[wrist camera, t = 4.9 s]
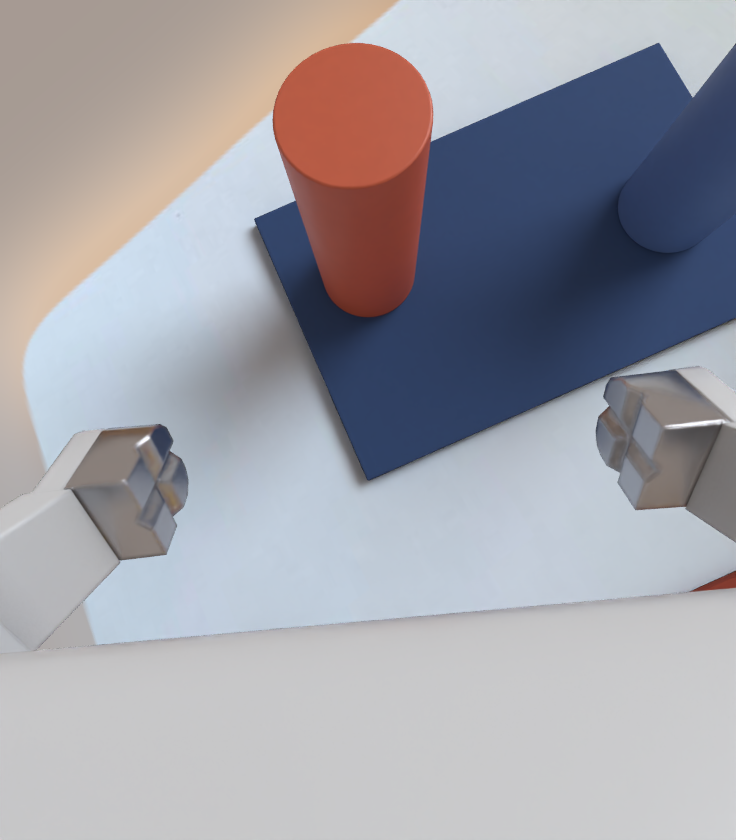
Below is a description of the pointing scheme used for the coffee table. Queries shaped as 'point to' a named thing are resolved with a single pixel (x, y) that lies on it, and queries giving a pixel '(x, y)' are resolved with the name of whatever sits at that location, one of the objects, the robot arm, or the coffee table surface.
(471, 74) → the coffee table surface
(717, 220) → the blue peg
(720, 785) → the robot arm
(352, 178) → the red peg
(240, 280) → the coffee table surface
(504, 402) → the blue mat
